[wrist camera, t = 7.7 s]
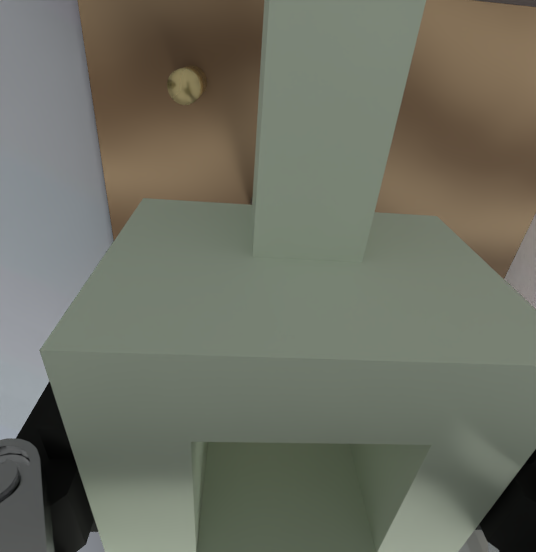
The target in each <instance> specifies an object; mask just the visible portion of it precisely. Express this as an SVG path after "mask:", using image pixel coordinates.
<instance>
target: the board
mask: <svg viewBox="0 0 536 552" xmlns="http://www.w3.org/2000/svg"><path fill="white" fill-rule="evenodd" d="M78 6H79V13H80V19H81V26H82V33H83V39H84V46H85V53H86V59H87V66H88V73H89V79H90V86H91V92H92V99H93V106H94V112H95V119H96V126H97V132H98V139H99V146H100V152H101V159H102V166H103V172H104V179H105V185H106V192H107V199H108V205H109V212H110V219H111V225H112V232H113V239H114V240H115V239H116V237H117V236H118V235H119V233H120V232H121V230H122V229H123V227H124V226H125V224H126V223H127V221H128V220H129V218H130V217H131V215H132V214H133V212H134V211H135V210H136V208H137V207H138V205H139V204H140V202H141V201H142V199H143V198H149V199H165V200H181V201H198V202H214V203H231V204H247V205H250V200H251V197H252V195H253V182H254V165H255V148H256V132H257V115H258V99H259V82H260V65H261V49H262V32H263V16H264V0H78ZM190 65H193V66H197V67H199V68H200V69H201V70H202V71H203V72H204V74H205V76H206V78H207V87H206V90H205V92H204V93H203V94H202V95H201V96H200V97H199V98H198V99H197V100H196V101H195V102H194V103H192V104H190V105H181V104H179V103H177V102H175V101H174V100H173V99H172V98H171V96H170V94H169V92H168V89H167V81H168V78H169V76H170V74H171V73H172V72H174V71H175V70H177V69H180V68H183V67H186V66H190ZM375 212H378V213H395V214H411V215H428V216H437V217H438V218H439V219H440V220H442V221H443V222H444V223H445V224H446V225H447V226H448V227H449V228H450V229H451V230H452V231H453V232H454V233H455V234H456V235H457V236H458V237H460V238H461V239H462V240H463V241H464V242H465V243H466V244H467V245H468V246H469V247H470V248H471V249H472V250H473V251H474V252H475V253H476V254H478V255H479V256H480V257H481V258H482V259H483V260H484V261H485V262H486V263H487V264H488V265H489V266H490V267H491V268H492V269H493V270H494V271H496V272H497V273H498V274H499V275H500V276H501V277H502V278H503V279H504V278H505V276H506V274H507V271H508V269H509V267H510V265H511V263H512V261H513V259H514V257H515V255H516V253H517V251H518V249H519V247H520V244H521V242H522V240H523V238H524V236H525V234H526V232H527V230H528V228H529V226H530V224H531V222H532V220H533V217H534V215H535V213H536V7H530V6H520V5H511V4H501V3H492V2H483V1H473V0H426V3H425V7H424V12H423V16H422V20H421V24H420V28H419V32H418V36H417V40H416V44H415V48H414V52H413V57H412V61H411V65H410V69H409V73H408V77H407V81H406V85H405V89H404V93H403V98H402V102H401V106H400V110H399V114H398V118H397V122H396V126H395V130H394V134H393V138H392V143H391V147H390V151H389V155H388V159H387V163H386V167H385V171H384V175H383V179H382V183H381V188H380V192H379V196H378V200H377V204H376V208H375Z"/></svg>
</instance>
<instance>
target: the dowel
mask: <svg viewBox="0 0 536 552" xmlns="http://www.w3.org/2000/svg"><path fill="white" fill-rule="evenodd" d="M206 87H207V78H206V76H205V74H204V72H203V71H202V70H201V69H200V68H199V67H197V66H193V65H190V66H186V67H183V68H180V69H177V70H175V71H174V72H172V73H171V74H170V76H169V78H168V81H167V89H168V92H169V94H170V96H171V98H172V99H173V100H174V101H175V102H177V103H179V104H181V105H190V104H192V103H194V102H195V101H196V100H197V99H198V98H199V97H200V96H201V95H202V94H203V93H204V92H205V90H206Z"/></svg>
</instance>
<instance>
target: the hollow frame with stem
mask: <svg viewBox="0 0 536 552" xmlns="http://www.w3.org/2000/svg"><path fill="white" fill-rule="evenodd" d="M425 3H426V0H264V16H263V32H262V49H261V65H260V82H259V99H258V115H257V132H256V148H255V165H254V182H253V198H252V205H247V204H231V203H214V202H198V201H181V200H165V199H149V198H143V199H142V201H141V202H140V204H139V205H138V207H137V208H136V210H135V211H134V212H133V214H132V215H131V217H130V218H129V220H128V221H127V223H126V224H125V226H124V227H123V229H122V230H121V232H120V233H119V235H118V236H117V237H116V239H115V240H114V242H113V243H112V245H111V246H110V248H109V249H108V251H107V252H106V254H105V255H104V257H103V258H102V259H101V261H100V262H99V264H98V265H97V267H96V268H95V270H94V271H93V273H92V274H91V276H90V277H89V279H88V280H87V281H86V283H85V284H84V286H83V287H82V289H81V290H80V292H79V293H78V295H77V296H76V298H75V299H74V301H73V302H72V303H71V305H70V306H69V308H68V309H67V311H66V312H65V314H64V315H63V317H62V318H61V320H60V321H59V323H58V324H57V326H56V327H55V328H54V330H53V331H52V333H51V334H50V336H49V337H48V339H47V340H46V342H45V343H44V345H43V346H42V348H41V349H40V353H41V356H42V359H43V362H44V366H45V369H46V372H47V375H48V378H49V381H50V384H51V387H52V390H53V393H54V396H55V399H56V402H57V406H58V409H59V412H60V415H61V418H62V421H63V424H64V427H65V430H66V433H67V436H68V439H69V442H70V446H71V449H72V452H73V455H74V458H75V461H76V464H77V467H78V470H79V473H80V476H81V479H82V482H83V486H84V489H85V492H86V495H87V498H88V501H89V504H90V507H91V510H92V513H93V516H94V519H95V522H96V525H97V529H98V532H99V535H100V538H101V541H102V544H103V547H104V550H105V552H458V551H459V550H460V549H461V547H462V546H463V545H464V543H465V542H466V541H467V539H468V538H469V537H470V535H471V534H472V533H473V531H474V530H475V529H476V527H477V526H478V525H479V523H480V522H481V521H482V519H483V518H484V517H485V516H486V514H487V513H488V512H489V510H490V509H491V508H492V506H493V505H494V504H495V502H496V501H497V500H498V498H499V497H500V496H501V494H502V493H503V492H504V490H505V489H506V488H507V486H508V485H509V484H510V482H511V481H512V480H513V478H514V477H515V476H516V474H517V473H518V472H519V470H520V469H521V468H522V466H523V465H524V464H525V462H526V461H527V460H528V458H529V457H530V456H531V454H532V453H533V452H534V450H535V449H536V309H535V308H534V307H533V306H531V305H530V304H529V303H528V302H527V301H526V300H525V299H524V298H523V297H522V296H521V295H520V294H519V293H518V292H517V291H516V290H515V289H513V288H512V287H511V286H510V285H509V284H508V283H507V282H506V281H505V280H504V279H503V278H502V277H501V276H500V275H499V274H498V273H497V272H496V271H494V270H493V269H492V268H491V267H490V266H489V265H488V264H487V263H486V262H485V261H484V260H483V259H482V258H481V257H480V256H479V255H478V254H476V253H475V252H474V251H473V250H472V249H471V248H470V247H469V246H468V245H467V244H466V243H465V242H464V241H463V240H462V239H461V238H460V237H458V236H457V235H456V234H455V233H454V232H453V231H452V230H451V229H450V228H449V227H448V226H447V225H446V224H445V223H444V222H443V221H442V220H440V219H439V218H438V217H437V216H428V215H411V214H395V213H378V212H375V208H376V204H377V200H378V196H379V192H380V188H381V183H382V179H383V175H384V171H385V167H386V163H387V159H388V155H389V151H390V147H391V143H392V138H393V134H394V130H395V126H396V122H397V118H398V114H399V110H400V106H401V102H402V98H403V93H404V89H405V85H406V81H407V77H408V73H409V69H410V65H411V61H412V57H413V52H414V48H415V44H416V40H417V36H418V32H419V28H420V24H421V20H422V16H423V12H424V7H425Z"/></svg>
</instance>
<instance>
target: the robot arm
mask: <svg viewBox="0 0 536 552" xmlns="http://www.w3.org/2000/svg"><path fill="white" fill-rule="evenodd" d="M90 532H98V529H97V525H96V522H95V519H94V516H93V513H92V510H91V507H90V504H89V501H88V498H87V495H86V492H85V489H84V486H83V482H82V479H81V476H80V473H79V470H78V467H77V464H76V461H75V458H74V455H73V452H72V449H71V446H70V442H69V439H68V436H67V433H66V430H65V427H64V424H63V421H62V418H61V415H60V412H59V409H58V406H57V402H56V399H55V396H54V393H53V390H52V387H51V384H50V381H49V383H48V385H47V387H46V388H45V390H44V392H43V393H42V395H41V397H40V398H39V400H38V402H37V404H36V405H35V407H34V409H33V410H32V412H31V414H30V415H29V417H28V419H27V420H26V422H25V424H24V426H23V427H22V429H21V431H20V432H19V434H18V436H17V437H16V439H3V440H0V552H77V551H78V550H79V549H80V548H82V547H83V546H84V545H86V542H87V539H88V536H89V533H90ZM458 552H536V449H535V450H534V452H533V453H532V454H531V456H530V457H529V458H528V460H527V461H526V462H525V464H524V465H523V466H522V468H521V469H520V470H519V472H518V473H517V474H516V476H515V477H514V478H513V480H512V481H511V482H510V484H509V485H508V486H507V488H506V489H505V490H504V492H503V493H502V494H501V496H500V497H499V498H498V500H497V501H496V502H495V504H494V505H493V506H492V508H491V509H490V510H489V512H488V513H487V514H486V516H485V517H484V518H483V519H482V521H481V522H480V523H479V525H478V526H477V527H476V529H475V530H474V531H473V533H472V534H471V535H470V537H469V538H468V539H467V541H466V542H465V543H464V545H463V546H462V547H461V549H460V550H459V551H458Z"/></svg>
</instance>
